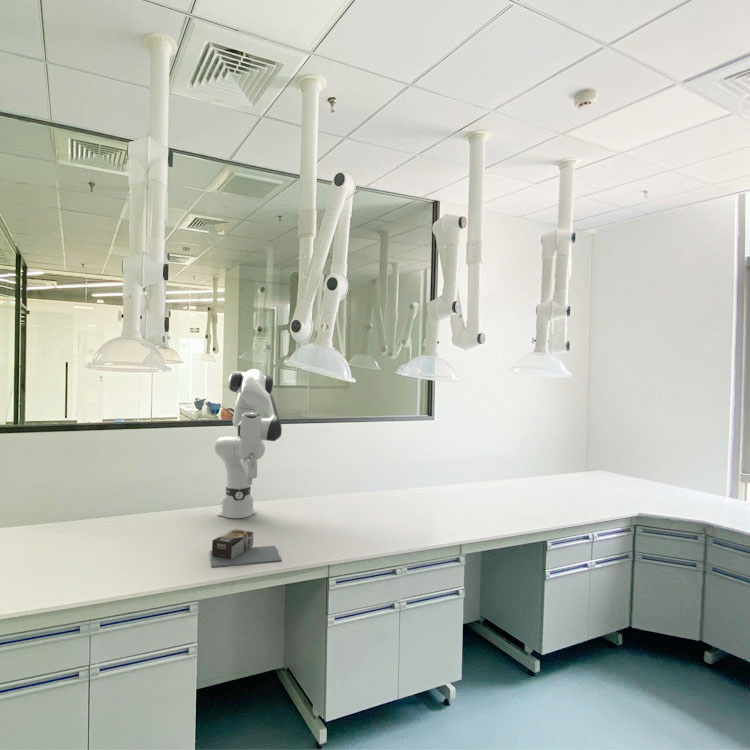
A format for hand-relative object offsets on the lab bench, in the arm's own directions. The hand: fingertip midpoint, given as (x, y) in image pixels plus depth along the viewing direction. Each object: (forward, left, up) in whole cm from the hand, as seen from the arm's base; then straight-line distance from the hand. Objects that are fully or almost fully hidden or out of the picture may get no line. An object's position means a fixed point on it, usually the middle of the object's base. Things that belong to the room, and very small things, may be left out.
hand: (249, 484), depth 215 cm
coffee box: (0, -1, -22) cm, 22 cm away
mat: (+12, -2, -26) cm, 29 cm away
